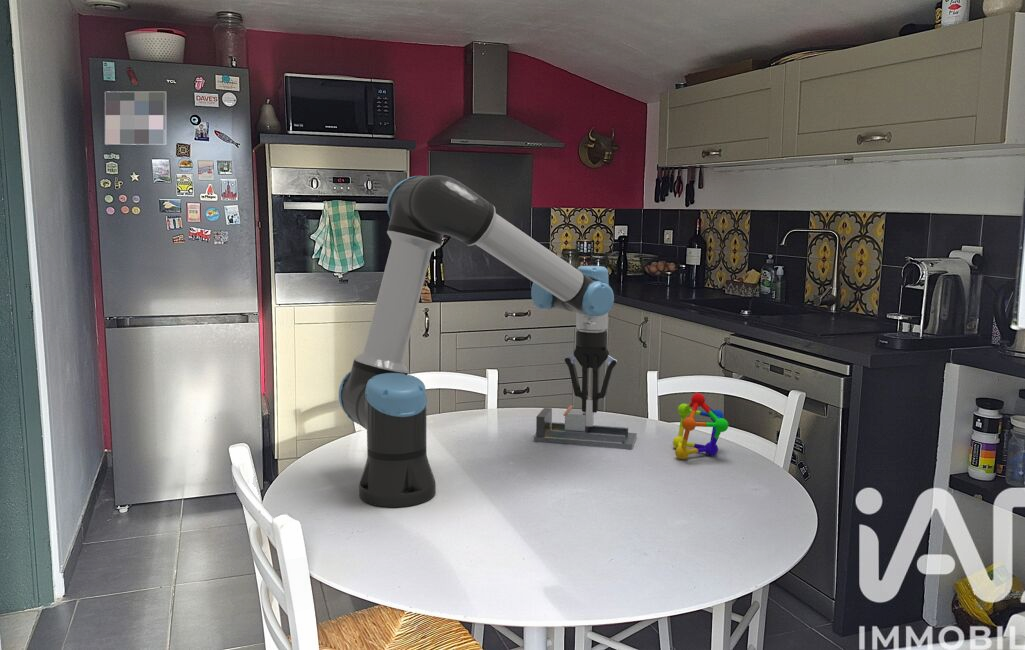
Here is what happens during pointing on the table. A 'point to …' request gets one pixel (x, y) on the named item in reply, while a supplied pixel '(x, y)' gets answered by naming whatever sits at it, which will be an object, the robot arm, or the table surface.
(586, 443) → the base
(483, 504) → the table surface
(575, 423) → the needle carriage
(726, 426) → the educational toy
